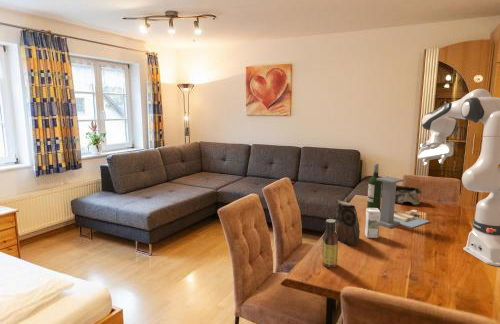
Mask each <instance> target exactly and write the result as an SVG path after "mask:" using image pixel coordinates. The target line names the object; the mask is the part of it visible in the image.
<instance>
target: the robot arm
mask: <svg viewBox="0 0 500 324" xmlns="http://www.w3.org/2000/svg"><path fill="white" fill-rule="evenodd" d="M457 119H460V120H468V121H470V122H473V123H476V124H477V123H478V122H481V123H482V124H483V132H482V142H481V149H480V154H479V156H478V158H477V160H476V162H474V164H473V165H472V166H470V167H469V168H467V169H466V170H465V171H464V172H463V174H462V175H461V176H462V177H461V183H462V185H463V187H464V188H465V189H466V190H468V191H472V192H476V193H477V192H478V193H489V194H488V196H487V197H485V198H483V199H480V200H479V201H478V202H477V203H476V205H475V215H474V218H473V221H472V229H471V230H470V232H469V233H468V237H467V241H466V246H464V247H463V251H465V252H467V253H468V254H469V255H471V256H473V257H475V258H476V259H478V260H480V261H481V262H483V263H485V264H486V265H491V266H494V267H500V167H499V166H500V97H497V96H496V97H495V96H492V94H491V92H489V90H487V89H485V88H477V89H473V90H472V91H470V92H468V93H467V94H465V95H464V96H462V98H460V99H457V100H455V101H451V102H447V103H445V104H443V105H441V106H440V107H437V108H436V109H435V110H432V111H430V112H428V113H426V114H424V116H423V117H422V120H421V126H422V128H423V129H424V130H427V131H430V137H429V139H428V140H426V141H425V142H423V143H421V144H420V149H419V151H418V154H417V159H418V160H419V161H420V162H423V166H424V167H428V166H429V163H428V161H431V160H437V159H438V164H439V165H443V164H444V161H446V159H447V158H448V157H452V156H454V146H455V143H454V141H452V140H449V141H447V137H451V136H452V135H455V133H456V132H457V130H458V127H459V123H458V121H457Z"/></svg>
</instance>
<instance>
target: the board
mask: <svg viewBox="0 0 500 324" xmlns="http://www.w3.org/2000/svg"><path fill="white" fill-rule="evenodd" d="M416 215H419V210H417V209H411V210H408V211H405V212H402V211H397V212H396V213H394V219H397V220H400V221H404V222H405V221H408V220H412V219H415V217H416Z"/></svg>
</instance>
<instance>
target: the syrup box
mask: <svg viewBox="0 0 500 324" xmlns="http://www.w3.org/2000/svg"><path fill="white" fill-rule="evenodd" d="M380 213H381V210H379V209H378V208H367V207H366V209H365V221H364V235H365V237H366V238H367V239H379V234H380V233H379V232H380V225H379V224H380Z"/></svg>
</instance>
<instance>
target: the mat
mask: <svg viewBox="0 0 500 324" xmlns="http://www.w3.org/2000/svg"><path fill="white" fill-rule="evenodd" d="M396 212H398V211H397V210H394V213H396ZM380 217H381V212H380ZM394 220H395V221H399V222H400V226H403V227H407V228H409V229H414V228H417V227H420V226H423V225H425V224H428V223H430V220H427V219H424V218H421V217H417V216H415V219H412V220H408V221H405V222H404V221H400V220H397V219H394Z"/></svg>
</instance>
